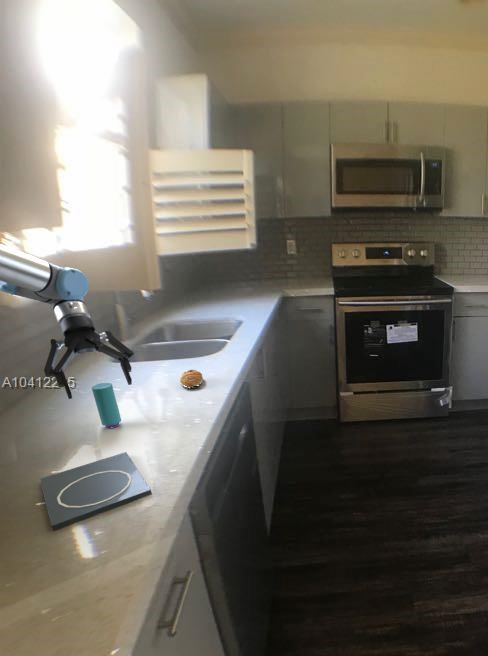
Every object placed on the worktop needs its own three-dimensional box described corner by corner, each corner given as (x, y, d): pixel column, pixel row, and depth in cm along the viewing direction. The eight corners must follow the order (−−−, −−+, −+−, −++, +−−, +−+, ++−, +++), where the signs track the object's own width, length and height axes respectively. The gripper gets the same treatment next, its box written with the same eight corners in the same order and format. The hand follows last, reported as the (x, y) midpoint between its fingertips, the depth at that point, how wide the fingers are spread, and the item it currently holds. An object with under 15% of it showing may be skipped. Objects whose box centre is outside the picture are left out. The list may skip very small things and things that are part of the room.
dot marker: (101, 425, 118) (90, 385, 114) (120, 420, 121) (109, 381, 117) (104, 431, 115) (93, 390, 111) (124, 425, 117) (113, 385, 113)
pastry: (205, 387, 141) (203, 376, 140) (182, 391, 139) (179, 380, 137) (202, 378, 149) (200, 367, 148) (180, 382, 147) (178, 371, 145)
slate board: (41, 482, 93) (39, 478, 93) (127, 455, 103) (125, 451, 102) (53, 530, 79) (51, 525, 78) (151, 493, 88) (150, 489, 88)
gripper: (15, 322, 112) (40, 395, 107) (126, 306, 127) (153, 370, 122) (20, 339, 118) (44, 409, 112) (126, 322, 133) (152, 383, 127)
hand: (101, 389), depth 117 cm, fingers open, 13 cm apart
